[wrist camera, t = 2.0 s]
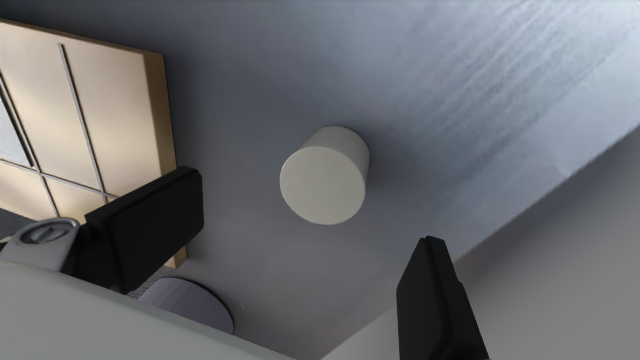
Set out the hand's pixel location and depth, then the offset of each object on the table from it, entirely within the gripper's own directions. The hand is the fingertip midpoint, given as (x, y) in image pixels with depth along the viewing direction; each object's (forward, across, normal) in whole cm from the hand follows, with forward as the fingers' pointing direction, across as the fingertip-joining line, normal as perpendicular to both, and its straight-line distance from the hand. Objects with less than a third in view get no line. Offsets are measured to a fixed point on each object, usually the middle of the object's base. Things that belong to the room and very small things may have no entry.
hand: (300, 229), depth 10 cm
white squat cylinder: (+7, 0, -1) cm, 7 cm away
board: (+7, +24, +4) cm, 26 cm away
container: (+7, +12, +21) cm, 25 cm away
